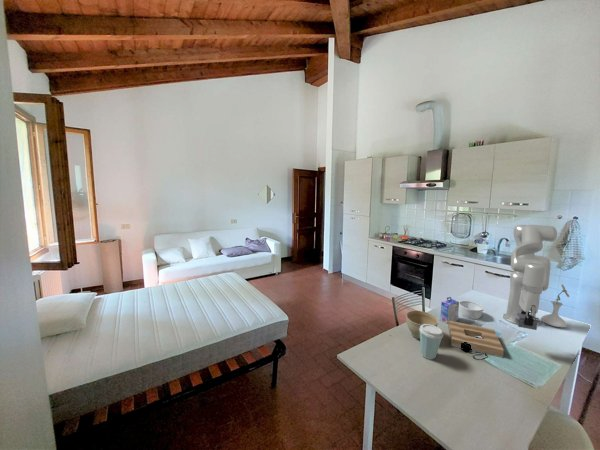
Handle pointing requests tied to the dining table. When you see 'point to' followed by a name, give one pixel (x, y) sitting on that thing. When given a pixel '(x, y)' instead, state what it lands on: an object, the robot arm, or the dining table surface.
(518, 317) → the flanged block
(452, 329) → the wooden board
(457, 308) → the ink cartridge box
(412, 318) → the planter bowl
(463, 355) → the dining table surface
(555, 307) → the flower in vase
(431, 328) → the disposable coffee cup
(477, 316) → the ramekin
